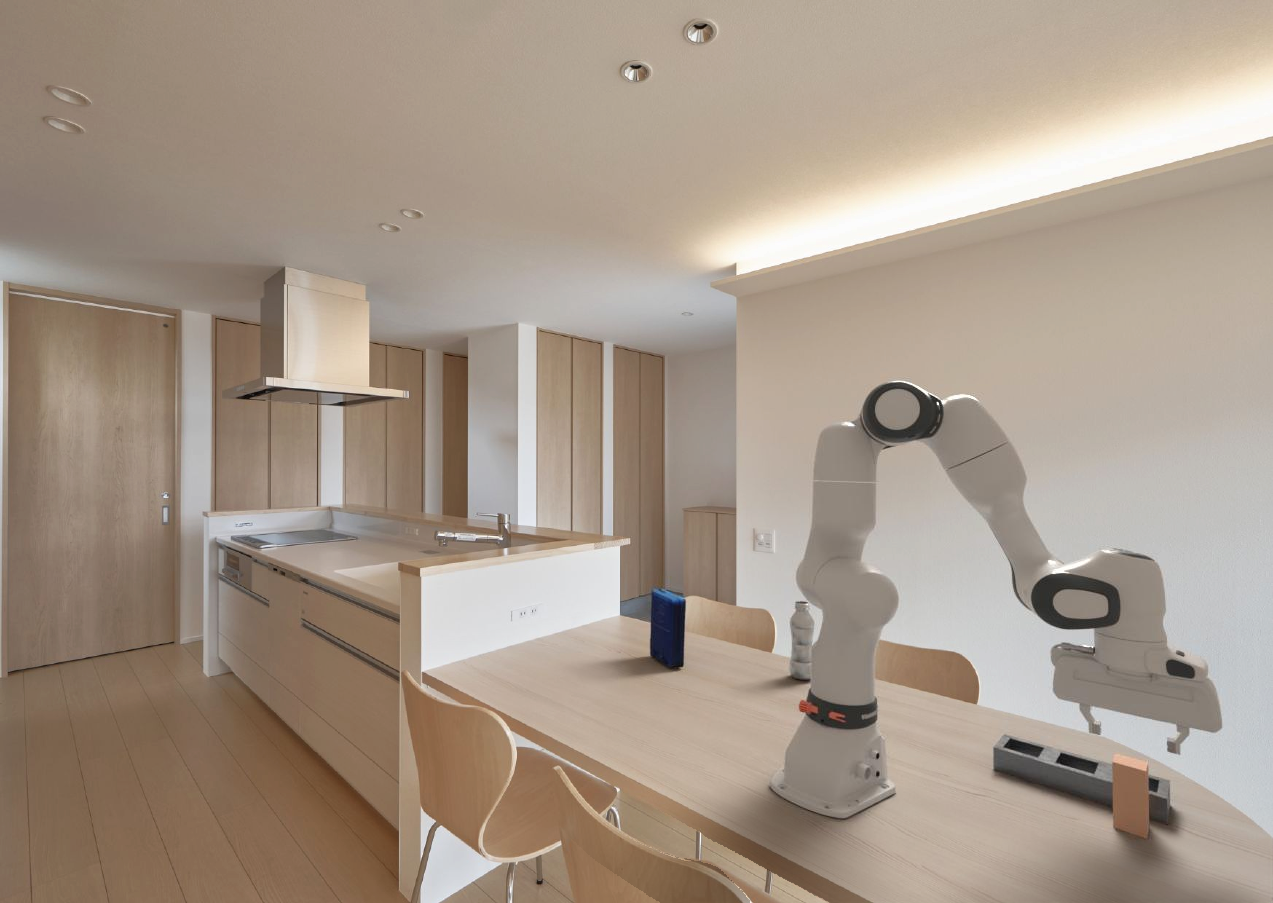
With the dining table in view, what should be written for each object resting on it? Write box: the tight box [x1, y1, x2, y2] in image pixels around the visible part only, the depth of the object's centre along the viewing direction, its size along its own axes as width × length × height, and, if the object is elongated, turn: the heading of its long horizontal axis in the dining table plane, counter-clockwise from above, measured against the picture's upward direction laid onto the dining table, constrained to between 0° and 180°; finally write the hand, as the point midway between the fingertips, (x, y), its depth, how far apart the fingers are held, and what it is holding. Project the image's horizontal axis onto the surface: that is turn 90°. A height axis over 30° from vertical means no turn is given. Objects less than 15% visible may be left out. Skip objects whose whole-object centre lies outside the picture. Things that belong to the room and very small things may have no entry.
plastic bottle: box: [788, 600, 815, 681], centre depth 157 cm, size 6×7×20 cm
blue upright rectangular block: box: [649, 588, 687, 669], centre depth 168 cm, size 14×5×20 cm, turn 25°
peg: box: [1111, 753, 1150, 839], centre depth 92 cm, size 4×4×10 cm
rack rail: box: [992, 733, 1171, 826], centre depth 104 cm, size 8×24×4 cm, turn 46°
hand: (1133, 742), depth 92 cm, fingers open, 8 cm apart
